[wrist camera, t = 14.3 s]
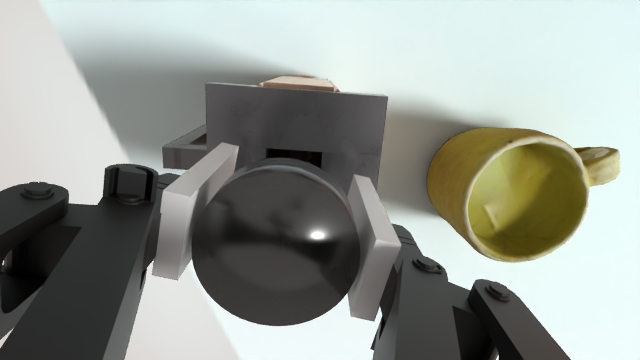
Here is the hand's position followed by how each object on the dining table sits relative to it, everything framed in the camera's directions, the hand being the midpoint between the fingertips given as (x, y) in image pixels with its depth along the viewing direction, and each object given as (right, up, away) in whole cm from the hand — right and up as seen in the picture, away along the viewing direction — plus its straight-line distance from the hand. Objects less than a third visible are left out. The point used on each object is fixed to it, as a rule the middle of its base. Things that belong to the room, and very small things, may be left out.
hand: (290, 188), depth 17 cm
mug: (+17, +2, +15) cm, 23 cm away
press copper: (-1, +5, +14) cm, 15 cm away
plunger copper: (0, +4, +12) cm, 12 cm away
